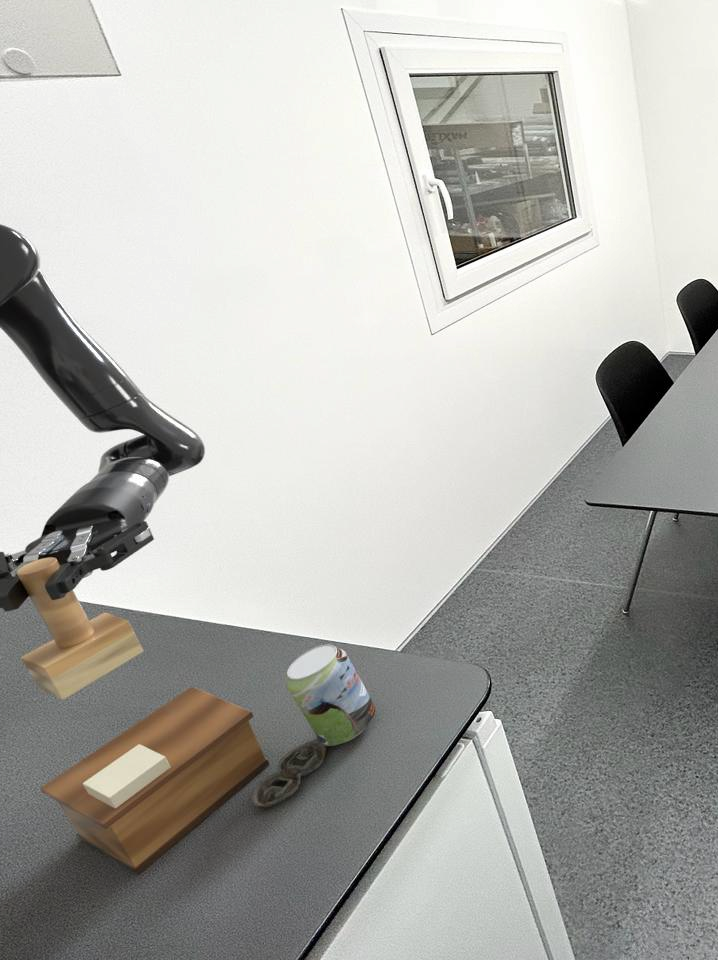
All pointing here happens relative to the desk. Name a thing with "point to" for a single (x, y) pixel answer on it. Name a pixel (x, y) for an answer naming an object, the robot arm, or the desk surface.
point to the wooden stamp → (72, 637)
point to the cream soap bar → (126, 776)
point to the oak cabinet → (164, 778)
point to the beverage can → (330, 694)
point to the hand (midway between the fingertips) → (30, 597)
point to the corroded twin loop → (289, 774)
